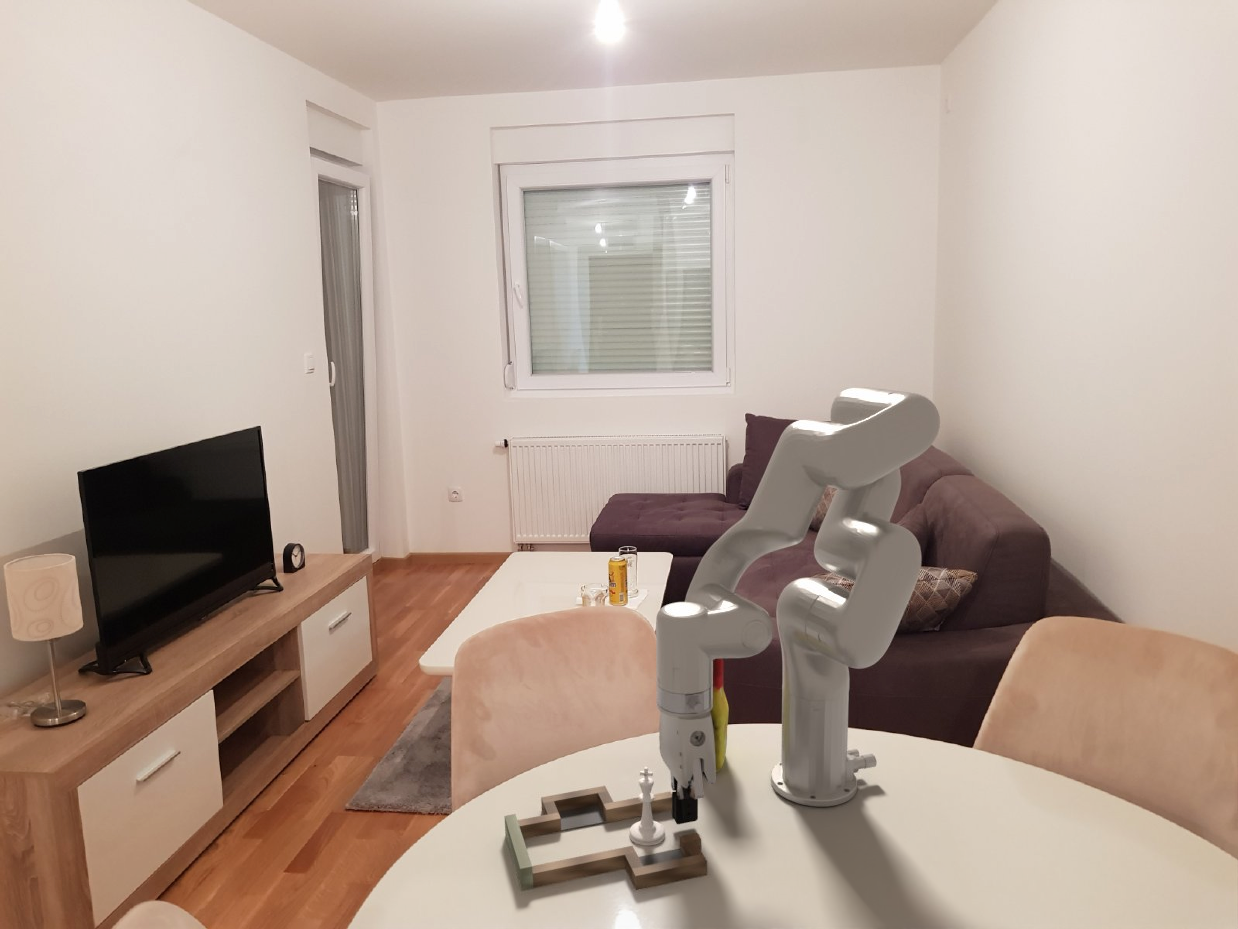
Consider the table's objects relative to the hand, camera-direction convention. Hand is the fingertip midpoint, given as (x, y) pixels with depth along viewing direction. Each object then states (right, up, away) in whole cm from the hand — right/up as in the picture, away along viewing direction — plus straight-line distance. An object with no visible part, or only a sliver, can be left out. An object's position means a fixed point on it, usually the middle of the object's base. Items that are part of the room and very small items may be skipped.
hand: (684, 819), depth 122 cm
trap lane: (-11, -2, -3) cm, 12 cm away
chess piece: (-5, -2, -1) cm, 6 cm away
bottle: (+5, +2, +18) cm, 19 cm away
